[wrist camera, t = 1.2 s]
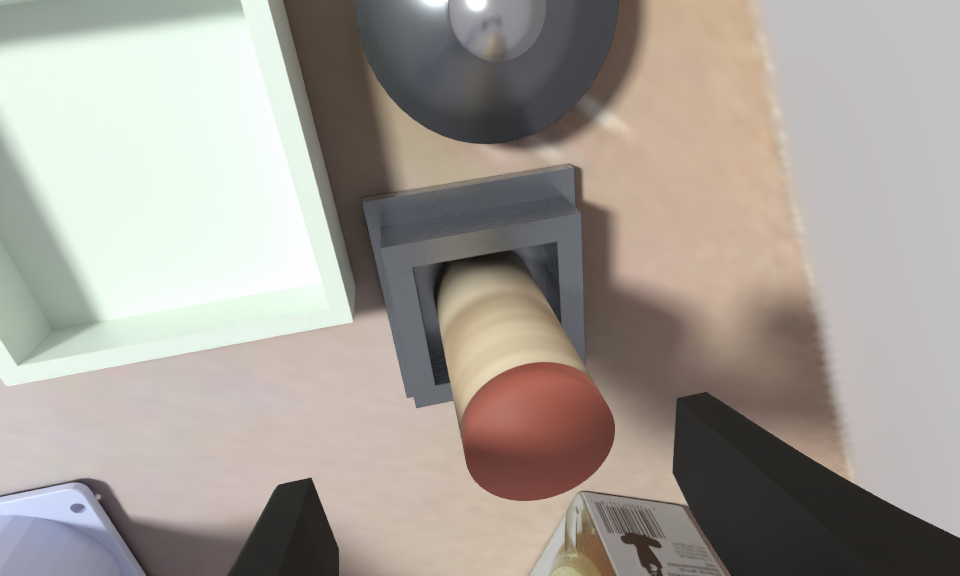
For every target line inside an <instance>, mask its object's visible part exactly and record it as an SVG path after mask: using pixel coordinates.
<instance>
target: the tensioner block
mask: <svg viewBox="0 0 960 576" xmlns="http://www.w3.org/2000/svg"><path fill="white" fill-rule="evenodd" d="M362 205H363V209H364V213H365V218H366V222H367V226H368V231H369V235H370V239H371V244H372V248H373V252H374V257H375V261H376V265H377V270H378V274H379V279H380V283H381V287H382V292H383V296H384V300H385V305H386V309H387V313H388V318H389V322H390V326H391V331H392V335H393V339H394V344H395V348H396V352H397V357H398V361H399V366H400V370H401V374H402V379H403V383H404V387H405V392H406V396H407V398H410V397H414V400H415V405H416V408H420V407H425V406H430V405H434V404H439V403H444V402H449V401H454V399H453V394H452V388H451V383H450V378H449V373H448V368H447V363H446V358H445V353H444V348H443V343H442V338H441V333H440V328H439V323H438V317H437V312H436V307H435V302H434V287H435V282H436V279H437V277H438V275H439V273H440V271H441V270H442V268H443V267H444V266H445V265H446V263H447V262H448V261H451V260H456V259H462V258H467V257H473V256H479V255H484V254H490V253H495V252H501V251H507V250H509V251H511V252H513V253H515V254H516V255H517V256H519V257H520V258H521V259H522V260H523V261H524V263H525V264H526V265H527V267H528V269H529V270H530V272H531V274H532V276H533V277H534V279H535V281H536V283H537V284H538V286H539V288H540V289H541V291H542V293H543V295H544V296H545V298H546V300H547V302H548V303H549V305H550V307H551V308H552V310H553V312H554V314H555V315H556V317H557V319H558V321H559V322H560V324H561V326H562V327H563V329H564V331H565V333H566V334H567V336H568V338H569V340H570V341H571V343H572V345H573V347H574V348H575V350H576V352H577V353H578V355H579V357H580V359H581V360H582V362H583V364H584V366H585V367H586V365H585V331H584V298H583V264H582V230H581V213H580V212H579V211H578V210H577V209H576V208H575V182H574V167H573V166H572V165H570V164H564V165H558V166H552V167H546V168H540V169H534V170H528V171H522V172H516V173H510V174H504V175H498V176H491V177H485V178H479V179H473V180H467V181H461V182H455V183H449V184H443V185H437V186H431V187H425V188H419V189H413V190H407V191H400V192H394V193H388V194H382V195H376V196H370V197H364V198H362Z"/></svg>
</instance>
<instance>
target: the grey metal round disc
mask: <svg viewBox="0 0 960 576" xmlns="http://www.w3.org/2000/svg"><path fill="white" fill-rule="evenodd" d="M354 1H355V13H356V20H357V27H358V31H359V35H360V39H361V42H362V46H363V49H364V51H365V54H366V56H367V59H368V61H369V64H370V66H371V68H372V70H373V71H374V73H375V75H376V77H377V79H378V81H379V82H380V84H381V85H382V86H383V88H384V89H385V91H386V92H387V93H388V95H389V96H390V97H391V98H392V99H393V101H394V102H395V103H396V104H397V105H398V106H399V107H400V108H401V109H402V110H403V111H404V112H405V113H407V114H408V115H409V116H410V117H411V118H413V119H414V120H415V121H417V122H418V123H420V124H421V125H423V126H424V127H426V128H427V129H429V130H432V131H434V132H436V133H438V134H440V135H442V136H445V137H448V138H451V139H454V140H457V141H463V142H468V143H476V144H494V143H504V142H509V141H513V140H518V139H521V138H524V137H526V136H529V135H532V134H534V133H536V132H538V131H540V130H542V129H544V128H546V127H548V126H549V125H550V124H552V123H553V122H555V121H556V120H558V119H559V118H561V117H562V116H563V115H564V114H565V113H566V112H567V111H569V110H570V109H571V108H572V107H573V106H574V105H575V104H576V103H577V102H578V100H579V99H580V98H581V97H582V96H583V95H584V94H585V92H586V91H587V89H588V88H589V86H590V85H591V84H592V82H593V81H594V79H595V77H596V76H597V74H598V72H599V70H600V68H601V66H602V65H603V62H604V60H605V57H606V55H607V53H608V50H609V48H610V44H611V41H612V37H613V34H614V30H615V25H616V19H617V13H618V1H619V0H354Z"/></svg>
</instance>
